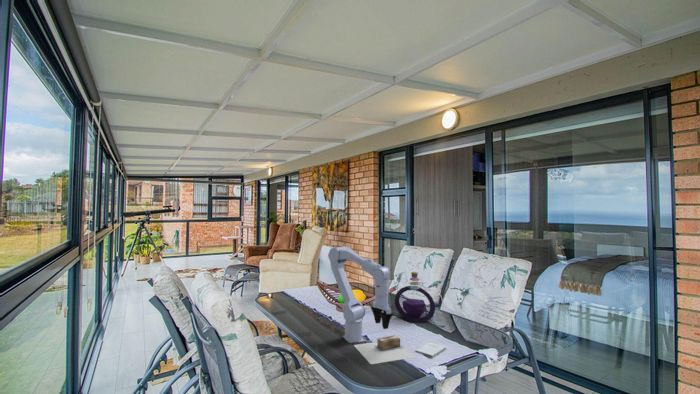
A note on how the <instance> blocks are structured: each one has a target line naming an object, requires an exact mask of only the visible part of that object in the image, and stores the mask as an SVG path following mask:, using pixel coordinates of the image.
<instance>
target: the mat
mask: <svg viewBox="0 0 700 394" xmlns="http://www.w3.org/2000/svg"><path fill="white" fill-rule="evenodd" d="M353 346H354V347H355V349H356V350H357V351H358V352H359V353H360V354H361V356H363V357H364V359H365V360H366V361H367V362H368V363H369V364H370V365H376V364H380V363H382V364H383V363H388V362H394V361H400V360H406V359H412V358H416V356H415V355H414V354H413V353H411V352H410V350H408V349H406V348H405V347H404V346H403V345H401V344H400V347H396V348H392V349H388V350H381V349H380V348H378V347H377V341H375V342H367V343H359V344H354V345H353Z"/></svg>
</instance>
